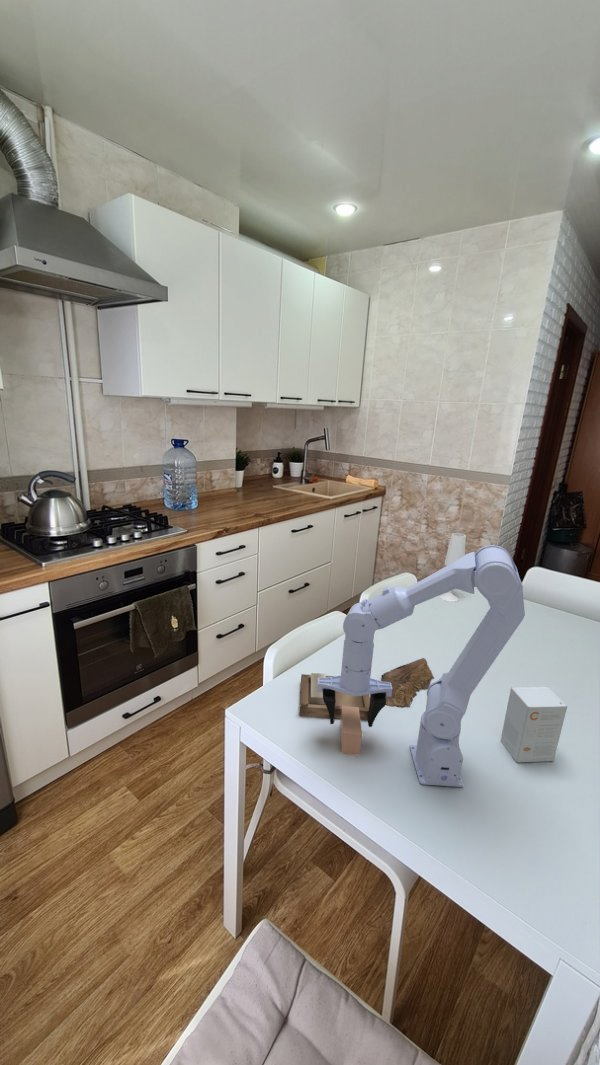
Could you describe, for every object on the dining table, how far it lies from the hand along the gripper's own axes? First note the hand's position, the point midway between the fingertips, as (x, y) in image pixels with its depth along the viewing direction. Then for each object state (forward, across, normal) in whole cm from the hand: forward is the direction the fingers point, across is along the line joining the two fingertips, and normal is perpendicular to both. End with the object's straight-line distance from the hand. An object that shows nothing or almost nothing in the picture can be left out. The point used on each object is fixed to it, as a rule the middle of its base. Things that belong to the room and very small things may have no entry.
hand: (350, 722), depth 91 cm
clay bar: (+4, 0, 0) cm, 4 cm away
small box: (+4, -36, 0) cm, 36 cm away
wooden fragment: (+5, -16, -22) cm, 28 cm away
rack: (+4, +2, -12) cm, 13 cm away
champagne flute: (+4, -42, -75) cm, 86 cm away
